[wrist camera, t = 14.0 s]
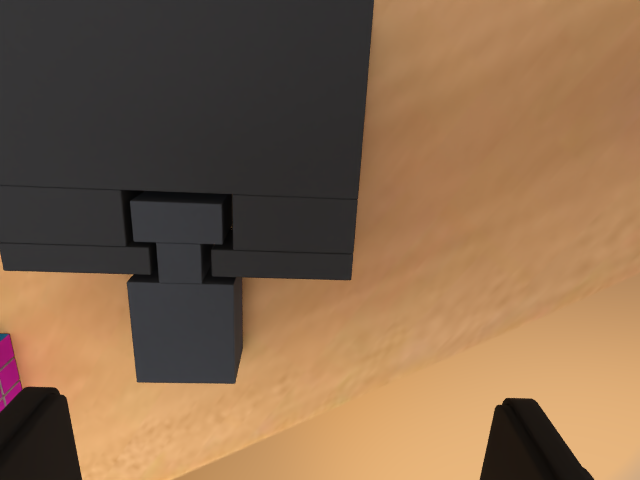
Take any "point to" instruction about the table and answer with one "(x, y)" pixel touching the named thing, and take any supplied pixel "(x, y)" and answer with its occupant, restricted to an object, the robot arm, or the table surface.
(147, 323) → the plug pad
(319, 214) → the base pad
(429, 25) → the table surface
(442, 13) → the table surface
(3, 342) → the puzzle toy
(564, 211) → the table surface
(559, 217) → the table surface
